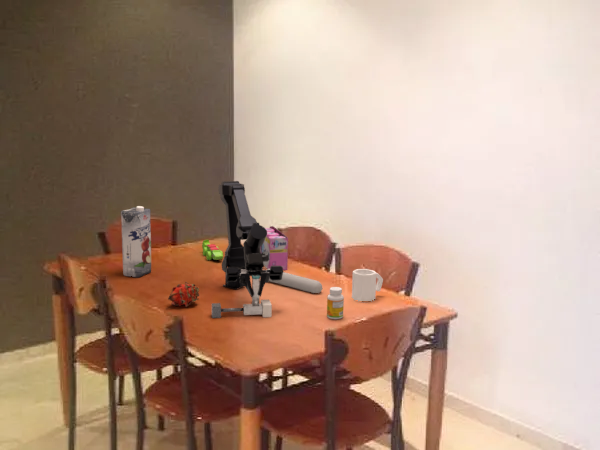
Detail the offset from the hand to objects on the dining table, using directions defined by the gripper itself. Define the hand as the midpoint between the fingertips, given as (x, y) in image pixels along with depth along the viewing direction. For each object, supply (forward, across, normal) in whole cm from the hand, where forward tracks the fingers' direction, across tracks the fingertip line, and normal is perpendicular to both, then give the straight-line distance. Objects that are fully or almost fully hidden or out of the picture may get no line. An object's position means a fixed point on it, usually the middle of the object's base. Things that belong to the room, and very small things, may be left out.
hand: (256, 296), depth 243 cm
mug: (-6, +42, +16) cm, 45 cm away
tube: (-17, +18, +27) cm, 37 cm away
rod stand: (+4, -8, +6) cm, 11 cm away
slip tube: (+3, 0, +5) cm, 6 cm away
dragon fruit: (-5, -23, +15) cm, 28 cm away
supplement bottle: (+8, +26, +2) cm, 27 cm away
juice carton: (-34, -40, +44) cm, 68 cm away
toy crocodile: (-50, -9, +61) cm, 79 cm away
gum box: (-42, +14, +52) cm, 68 cm away
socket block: (+4, +4, +6) cm, 8 cm away
